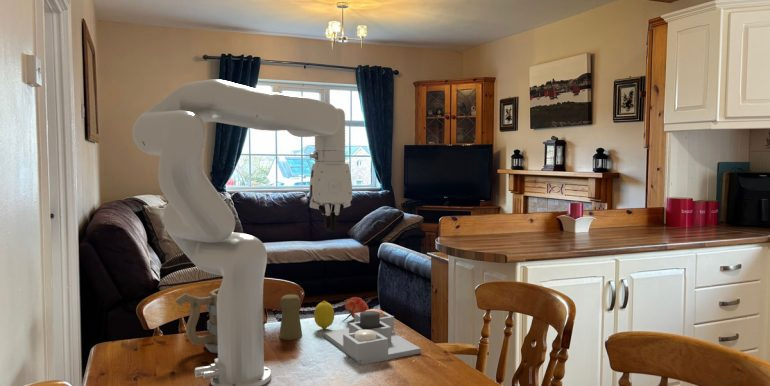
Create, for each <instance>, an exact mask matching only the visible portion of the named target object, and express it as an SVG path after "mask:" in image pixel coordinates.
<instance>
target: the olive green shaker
mask: <svg viewBox="0 0 770 386" xmlns="http://www.w3.org/2000/svg"><path fill="white" fill-rule="evenodd" d="M279 301H280V307H281V308H282V310H281V311H282V312H281V318H280V319H281V320H280V328H279V335H278V337H279V338H280V340H285V341H286V340H297V339H301V338H302V337H303V331H302V324H301V318H300V310H299V307H300V305H301V299H300V297H299V295H297V294H285V295H283V296H282V297H280V300H279Z"/></svg>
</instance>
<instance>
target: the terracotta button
mask: <svg viewBox="0 0 770 386" xmlns="http://www.w3.org/2000/svg"><path fill="white" fill-rule="evenodd" d="M366 311H377V312H379V313H380V318H382V317H383V310H382V309H377V308H370V309H369V310H366Z"/></svg>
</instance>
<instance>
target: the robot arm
mask: <svg viewBox="0 0 770 386" xmlns="http://www.w3.org/2000/svg"><path fill="white" fill-rule="evenodd" d="M205 123H220V124H226V125H232V126H236V127H237V126H238V127H243V128H247V129H254V130H259V131H269V132H271V131H272V132H273V131H275V132H276V131H277V132H279V131H280V132H281V131H287V132H288V133H289V134H291V135H292V136H294V137H300V138H312V137H314V151H313V152H312V153H311V152H310V153H309V159H313V161H314V163H312V165H311V171H310V176H309V189H308V190H309V197H308V198H309V201H310V202H309V208H311V209H314V210H318V211H319V212H321V214H322V215H323V228H324V229H325V231H326V232H331V233H332V232H337V228H338V216H339V215H340V213H341V211H342V210H343V209H345V208H348V207H350V206H352V204H351V203H352V202H351V201H352V200H353V184H352V175H351V169H350V164H349V163H348V162H346V113H345V110H344V109H342V108H339V107H336V106H334V105H333V104H331V103H329V102H325V101H322V100H319V99H315V98H310V97H304V96H298V95H292V94H285V93H280V92H274V91H273V92H272V91H267V90H263V89H258V88H255V87H250V86H247V85H244V84H239V83H235V82H232V81H228V80H223V79H213V78H212V79H211V78H210V79H205V80H197V81H190V82H186V83H184V84H183V85H181V86H180V87H178V88H176V89H175V90H174V91H172V92H171V93H170V94H168V95H166V96H165V97H164V98H162V99H161V100H160V101H158V102H157V103H156V104H154V105H153V106H151V107H150V108H148V109H147V110H146V111H145V112H143V113H142V114H141V115H140V116H139V117H138V118H137V119H136V121H135V122H134V124H133V128H132V131H131V132H132V135H131V136H132V139H133V142H134V145H135V146H136V147H137V148H138V149H139V150H140V151H141V152H143V153H144V154H147V155H150V156H156V157H157V156H158V157H159V163H158V171H157V177H158V178H157V179H158V185H159V188H160V190H161V192H162V194H163V196H164V197H165V198H166V200H167V201H168V202H167V203H166V205H165V208H164V210H163V217H162V218H163V225H164V227H165V230H166V232H167V234H168V236H169V237H170V238H171V240H173V242H174V243H175V244H176V245H177V246H178V248H179V249H180V250H181V251H182V252H183V254H185V255H186V257H187V258H188V259H189V261H191V263H192V264H194V266H196V267H197V268H198V269H199V270H201V271H202V272H205V273H208V274H211V275H215V276H221V277H222V281H221V284H220V285H219V291H218V295H217V337H218V353H217V358H214V362H213V363H210V364H209V365H206V366H197V367H195V368H194V376H195V378H198V377H203V379H204V380H207V379H210V384H211V386H264V385H265V384H267V383H268V382H270V380H271V378H272V370H271V369H270V368H269V367H267V366H265V359H264V358H265V357H264V356H265V355H264V354H265V352H264V351H265V350H264V349H265V348H264V347H265V345H264V343H265V342H264V281H265V273H266V268H267V263H268V262H267V261H268V253H267V248H266V245H265V244H264V243H263V241H261V240H260V239H259V238H258V237H256V236H254V235H251V234H247V233H242V232H234V231H235V227H236V219H235V216H234V212H233V211H232V209H231V208H230V206H229V205H228V203H227V202H226V201H225V200H224V199H223V197H222V196H221V194H220V193H219V192H218V191H217V189H216V187H215V186H214V185H213V184H212V182H211V181H210V179H209V177H208V176H207V175H206V172H205V170H204V167H203V155H204V151H205V146H206V143H207V138H208V137H207V127H206V124H205ZM330 205H331V206H330Z"/></svg>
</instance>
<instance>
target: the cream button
mask: <svg viewBox="0 0 770 386" xmlns="http://www.w3.org/2000/svg"><path fill="white" fill-rule="evenodd" d="M355 339H356V340H357V341H359V342H364V341H370V340H375V339H376V332H375V331H373V330H359V331H356V332H355Z"/></svg>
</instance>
